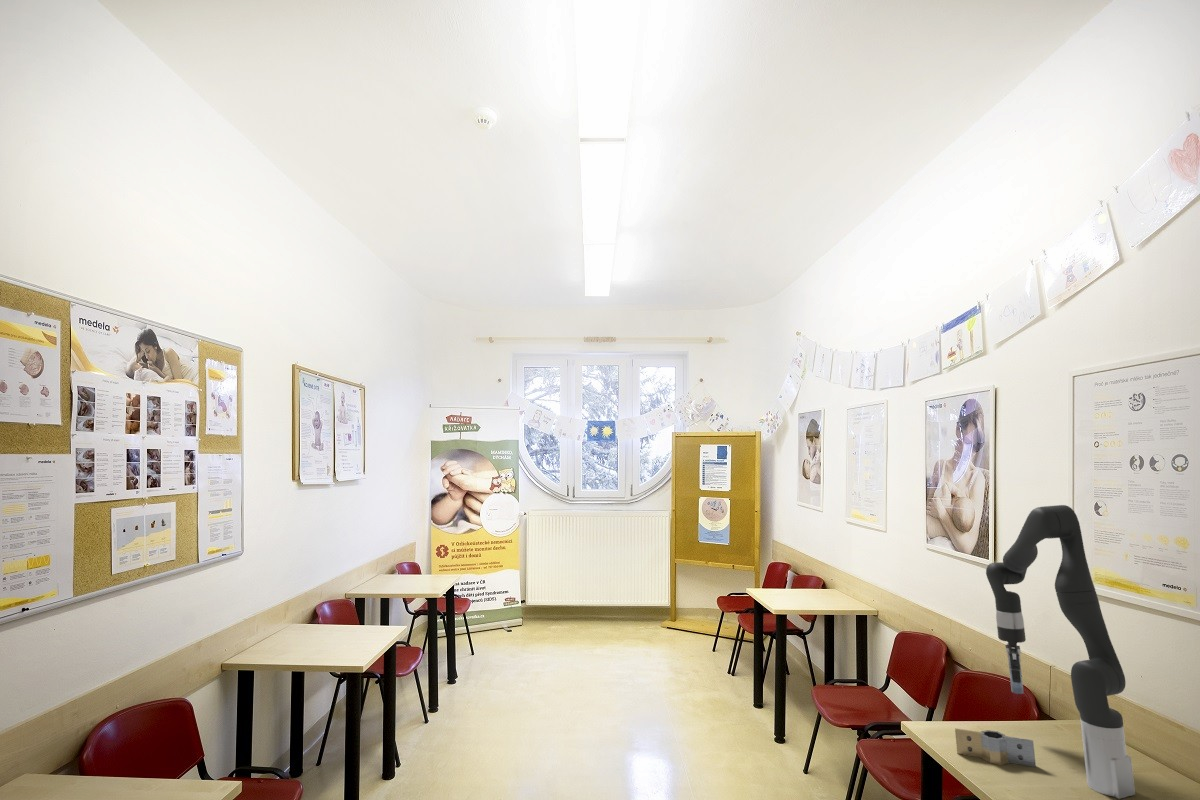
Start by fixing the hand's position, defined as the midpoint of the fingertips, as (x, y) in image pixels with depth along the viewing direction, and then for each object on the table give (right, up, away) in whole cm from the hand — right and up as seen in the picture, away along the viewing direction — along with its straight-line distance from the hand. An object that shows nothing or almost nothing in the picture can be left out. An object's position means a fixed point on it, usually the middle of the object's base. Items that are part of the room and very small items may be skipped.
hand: (1016, 680), depth 204 cm
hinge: (-17, -16, -16) cm, 29 cm away
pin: (0, -4, 0) cm, 4 cm away
